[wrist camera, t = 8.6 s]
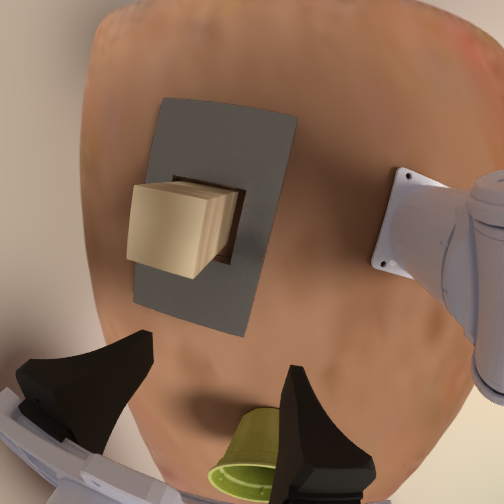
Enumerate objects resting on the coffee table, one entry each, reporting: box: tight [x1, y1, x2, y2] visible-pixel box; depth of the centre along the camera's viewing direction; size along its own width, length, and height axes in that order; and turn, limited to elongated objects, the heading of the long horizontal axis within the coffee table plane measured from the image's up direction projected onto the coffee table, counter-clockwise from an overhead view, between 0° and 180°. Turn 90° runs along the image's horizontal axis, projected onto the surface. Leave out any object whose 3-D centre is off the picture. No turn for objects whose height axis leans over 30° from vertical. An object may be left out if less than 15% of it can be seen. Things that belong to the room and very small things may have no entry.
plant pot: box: [208, 408, 279, 502], centre depth 22 cm, size 9×9×9 cm
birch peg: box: [126, 181, 239, 279], centre depth 17 cm, size 4×4×8 cm
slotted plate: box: [133, 98, 298, 338], centre depth 20 cm, size 10×17×2 cm, turn 167°
